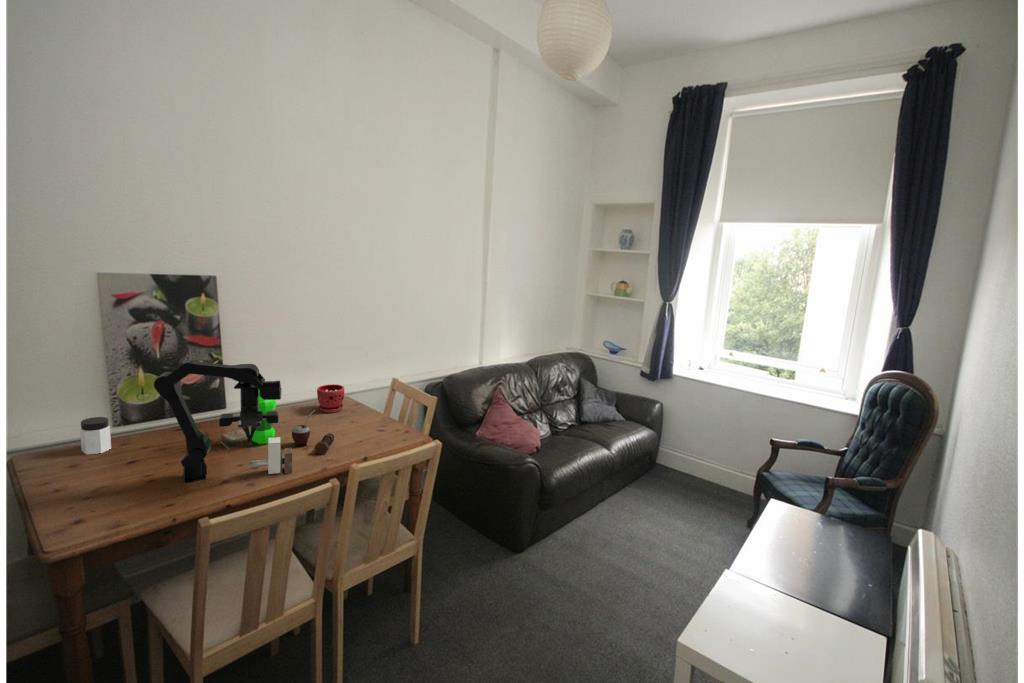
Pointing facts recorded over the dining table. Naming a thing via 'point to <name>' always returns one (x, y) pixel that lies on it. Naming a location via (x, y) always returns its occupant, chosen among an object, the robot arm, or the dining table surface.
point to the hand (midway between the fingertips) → (250, 440)
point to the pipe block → (287, 461)
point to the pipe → (262, 463)
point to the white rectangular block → (274, 456)
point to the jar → (95, 435)
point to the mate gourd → (301, 434)
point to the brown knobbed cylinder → (324, 444)
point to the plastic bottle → (264, 422)
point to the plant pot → (330, 397)
